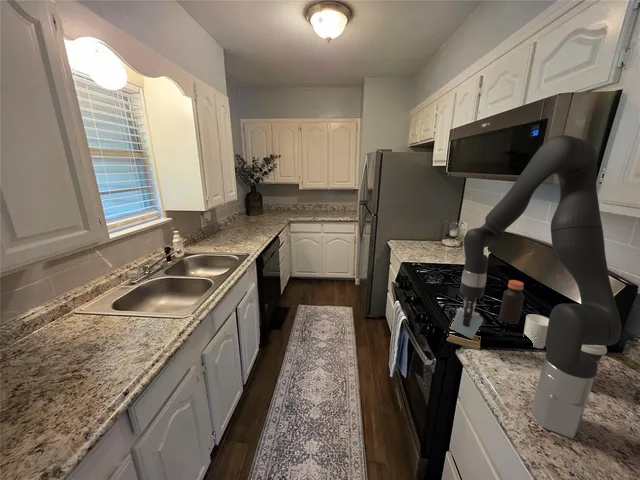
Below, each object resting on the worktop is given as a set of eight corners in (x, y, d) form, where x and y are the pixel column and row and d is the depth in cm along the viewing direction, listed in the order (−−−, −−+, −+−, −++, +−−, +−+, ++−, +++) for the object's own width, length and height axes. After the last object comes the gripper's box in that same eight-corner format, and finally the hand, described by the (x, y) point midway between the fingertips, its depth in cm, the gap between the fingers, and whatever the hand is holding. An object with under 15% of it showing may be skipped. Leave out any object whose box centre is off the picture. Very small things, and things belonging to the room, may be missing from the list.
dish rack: (479, 350, 95) (483, 330, 93) (446, 340, 101) (449, 321, 99) (480, 331, 107) (483, 312, 105) (450, 323, 113) (453, 305, 110)
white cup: (538, 337, 103) (543, 314, 100) (553, 350, 95) (559, 326, 93) (516, 336, 104) (521, 313, 101) (530, 349, 96) (535, 325, 94)
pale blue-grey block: (472, 339, 98) (483, 320, 94) (450, 328, 101) (459, 309, 98) (472, 336, 100) (483, 317, 96) (450, 325, 103) (460, 307, 100)
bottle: (504, 320, 114) (513, 277, 109) (521, 328, 108) (531, 284, 103) (494, 323, 112) (502, 280, 107) (510, 332, 106) (519, 287, 101)
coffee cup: (563, 364, 88) (574, 325, 84) (601, 385, 80) (615, 343, 76) (546, 373, 85) (557, 332, 81) (584, 395, 76) (598, 352, 72)
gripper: (484, 292, 86) (476, 337, 91) (485, 277, 98) (478, 318, 102) (459, 286, 90) (453, 330, 95) (463, 273, 102) (457, 313, 106)
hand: (466, 324), depth 99 cm, fingers closed on pale blue-grey block, 2 cm apart
